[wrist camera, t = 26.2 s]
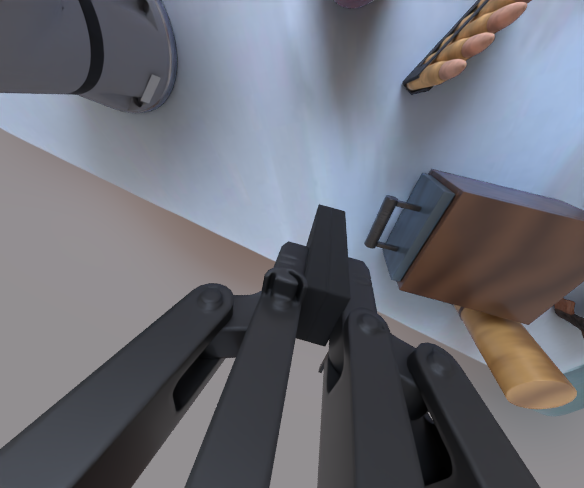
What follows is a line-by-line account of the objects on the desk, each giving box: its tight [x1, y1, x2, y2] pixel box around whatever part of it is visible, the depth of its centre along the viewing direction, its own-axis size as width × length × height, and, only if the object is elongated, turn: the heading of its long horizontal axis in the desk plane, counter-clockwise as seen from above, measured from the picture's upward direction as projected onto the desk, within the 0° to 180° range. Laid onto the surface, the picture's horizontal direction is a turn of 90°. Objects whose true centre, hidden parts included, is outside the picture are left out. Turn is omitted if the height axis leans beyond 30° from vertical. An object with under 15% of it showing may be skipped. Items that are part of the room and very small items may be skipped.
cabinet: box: [397, 169, 584, 325], centre depth 29 cm, size 17×14×9 cm
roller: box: [454, 305, 577, 409], centre depth 32 cm, size 6×6×15 cm
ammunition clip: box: [402, 0, 531, 95], centre depth 18 cm, size 11×2×12 cm, turn 140°
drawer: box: [365, 173, 456, 282], centre depth 29 cm, size 20×12×7 cm, turn 79°
